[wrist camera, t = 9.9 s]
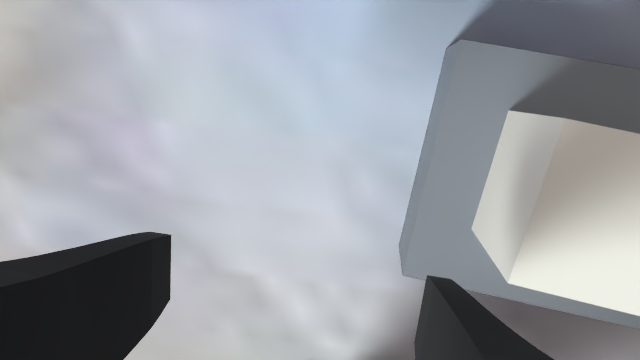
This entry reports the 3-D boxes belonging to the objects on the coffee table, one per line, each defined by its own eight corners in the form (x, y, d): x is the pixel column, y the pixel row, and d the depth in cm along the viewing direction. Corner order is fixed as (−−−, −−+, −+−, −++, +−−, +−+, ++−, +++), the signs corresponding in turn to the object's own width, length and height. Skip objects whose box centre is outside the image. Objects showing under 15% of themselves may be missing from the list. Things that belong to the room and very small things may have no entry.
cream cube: (594, 258, 17) (683, 327, 12) (471, 228, 17) (508, 283, 12) (642, 138, 15) (763, 159, 11) (508, 110, 16) (565, 118, 11)
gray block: (593, 285, 21) (642, 329, 17) (398, 242, 22) (402, 275, 18) (666, 87, 18) (743, 86, 15) (444, 49, 19) (461, 39, 16)
